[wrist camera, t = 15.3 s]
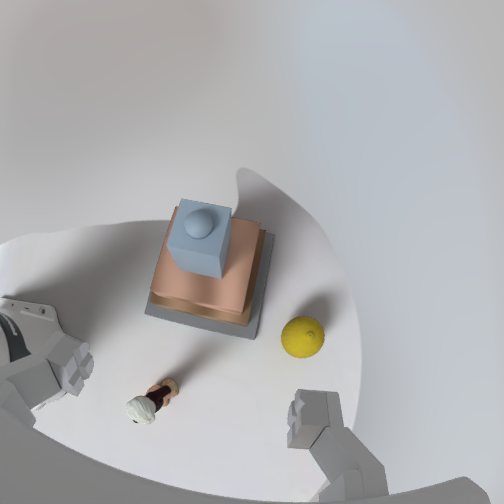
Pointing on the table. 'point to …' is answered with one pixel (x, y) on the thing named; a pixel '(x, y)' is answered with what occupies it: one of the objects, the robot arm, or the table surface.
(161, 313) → the baseplate
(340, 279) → the table surface
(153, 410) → the grandmother figurine
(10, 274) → the table surface
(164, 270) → the terracotta brick
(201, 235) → the blue knobbed block
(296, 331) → the lemon
